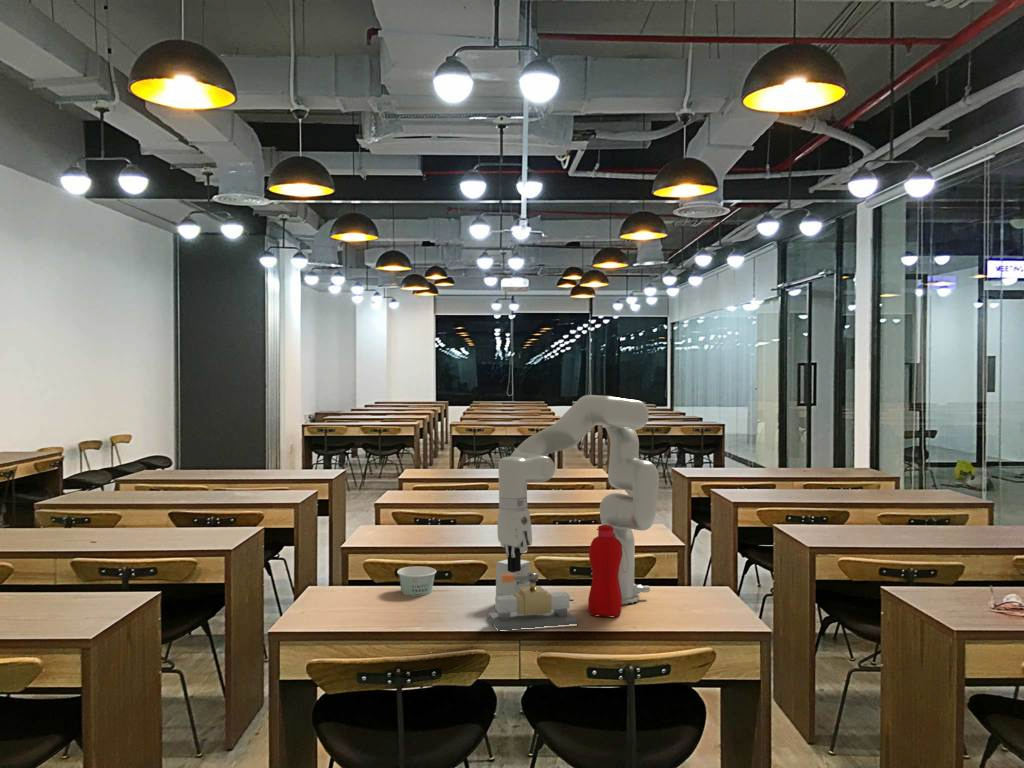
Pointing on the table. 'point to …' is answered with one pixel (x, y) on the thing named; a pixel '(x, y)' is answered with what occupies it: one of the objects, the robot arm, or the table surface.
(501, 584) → the supplement box
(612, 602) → the water bottle
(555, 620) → the mounting board
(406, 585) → the food container
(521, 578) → the valve lever
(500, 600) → the pipe valve
